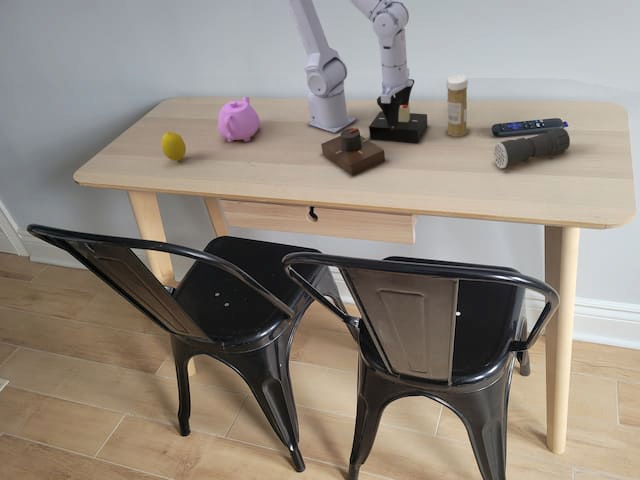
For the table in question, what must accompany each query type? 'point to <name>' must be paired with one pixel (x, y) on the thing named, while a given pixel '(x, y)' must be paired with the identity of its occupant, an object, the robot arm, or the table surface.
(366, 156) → the walnut console
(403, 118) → the bar knob
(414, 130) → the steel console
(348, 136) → the round dial
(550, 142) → the flashlight
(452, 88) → the sprinkles bottle
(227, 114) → the teapot
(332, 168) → the table surface
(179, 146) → the lemon
